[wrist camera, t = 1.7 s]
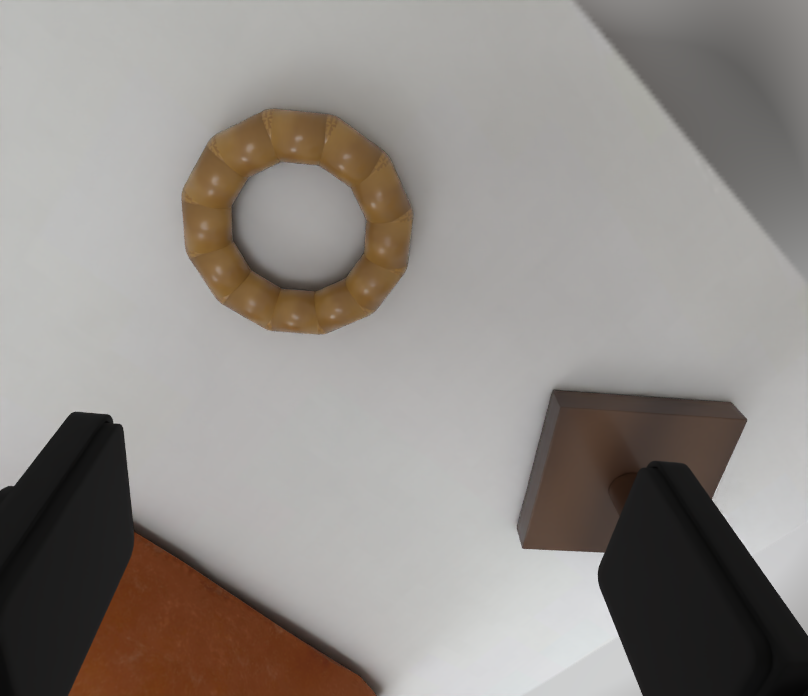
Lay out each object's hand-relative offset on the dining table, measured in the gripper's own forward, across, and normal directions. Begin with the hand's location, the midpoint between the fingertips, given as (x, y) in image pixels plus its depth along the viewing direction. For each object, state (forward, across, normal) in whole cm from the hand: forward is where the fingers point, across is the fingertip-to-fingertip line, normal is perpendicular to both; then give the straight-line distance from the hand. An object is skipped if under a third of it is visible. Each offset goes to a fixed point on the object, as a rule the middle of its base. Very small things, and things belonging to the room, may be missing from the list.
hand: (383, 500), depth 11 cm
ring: (+15, +3, 0) cm, 15 cm away
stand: (+16, -14, +11) cm, 23 cm away
